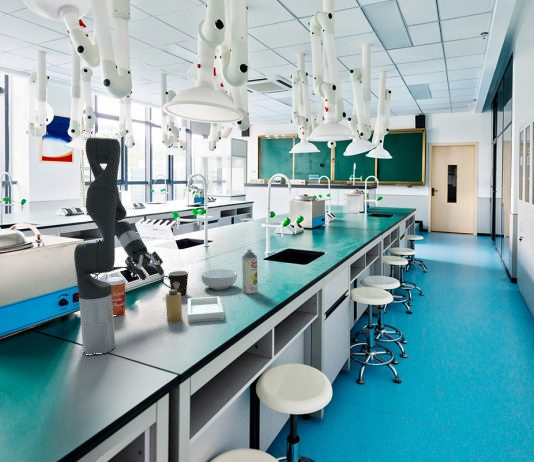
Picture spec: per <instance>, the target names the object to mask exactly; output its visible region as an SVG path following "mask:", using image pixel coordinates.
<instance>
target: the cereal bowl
mask: <svg viewBox="0 0 534 462" xmlns="http://www.w3.org/2000/svg"><path fill="white" fill-rule="evenodd" d="M237 279H238V273H237V272H236V270H233V269H226V268H223V269H222V268H221V269H219V268H218V269H210V270H206V271H204V272H201V280H202V284H204V285H205V287H208V288H211V289H213V290H217V291H218V290H219V291H221V290H225V289H228V288H230V287H231V286H233V285H234V284H235V283H236V281H237Z"/></svg>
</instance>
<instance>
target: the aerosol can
mask: <svg viewBox="0 0 534 462" xmlns="http://www.w3.org/2000/svg"><path fill="white" fill-rule="evenodd" d="M241 257H242V258H241V262H242V263H241V268H242V269H241V270H242V274H241V275H242V276H241V277H242V293H243V294H244V295H249V296H250V295H255V294H258V291H259V290H258V289H259V288H258V287H259V286H258V257H257V254H255V253H254V252H253V251H252V249H251V248H248V249H247V251H246V252H245V253H244V254H243V255H242V256H241Z"/></svg>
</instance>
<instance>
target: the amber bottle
mask: <svg viewBox="0 0 534 462" xmlns="http://www.w3.org/2000/svg"><path fill="white" fill-rule="evenodd" d="M165 304H166V321H167V322H171V323H172V322H173V323H174V322H179V321H181V320H183V311H182V310H183V309H182V308H183V307H182V297H181V293H179V292H177V290H175V289H173V290H171V289H169V291H168V293H165Z"/></svg>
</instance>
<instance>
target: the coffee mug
mask: <svg viewBox="0 0 534 462" xmlns="http://www.w3.org/2000/svg"><path fill="white" fill-rule="evenodd" d="M188 277H189V272H188V271H186V270H176V271H175V270H174V271H171V272H170V271H169V272H168V275H162V276H161V281H160V282H161V283H162V284H163V285H164V286H166V287H167V288H168V289H169V290H173V289H175V290H177V292H179V293H181V298H182V297H185V296H187V295H188V293H187V291H188V281H189V278H188ZM163 278H167V279H168V280H169V284H170V286H169V285H168V284H166V283H165V281H164V279H163Z"/></svg>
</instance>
